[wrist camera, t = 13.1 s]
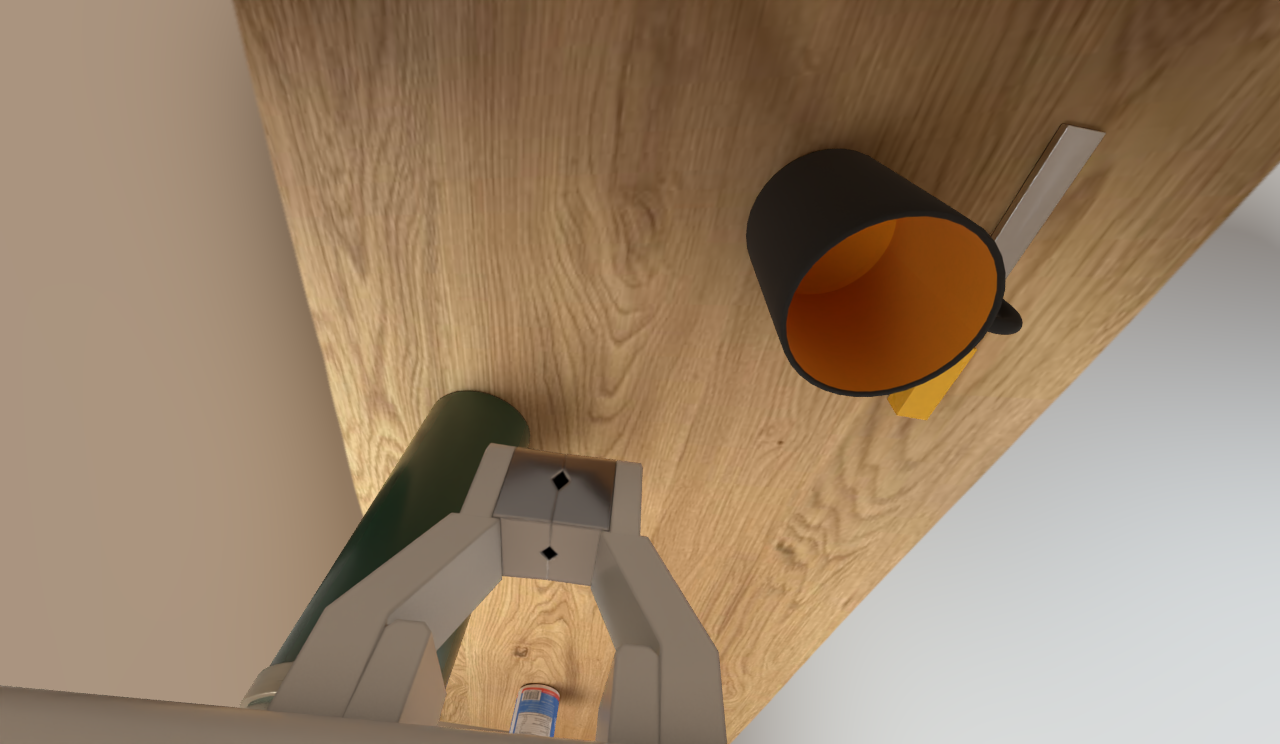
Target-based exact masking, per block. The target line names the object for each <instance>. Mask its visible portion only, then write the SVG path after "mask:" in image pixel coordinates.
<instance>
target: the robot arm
mask: <svg viewBox="0 0 1280 744" xmlns="http://www.w3.org/2000/svg"><path fill="white" fill-rule="evenodd" d="M642 472H643V467H642V465H641V463H635V462H627V461H619V460H617V461H616V460H614V459H605V458H597V457H589V456H581V455H572V454H560V453H554V452H548V451H541V450H535V449H529V448H522V447H514V446H508V445H501V444H495V443H490V445H489V446H488V447H487V448H486V450H485V453H484V455H483V457H482V460H481V462H480V465H479V467H478V470H477V472H476V475H475V477H474V479H473V482H472V484H471V487H470V489H469V492H468V494H467V496H466V499H465V501H464V504H463V506H462V509H461V511H460V513H450V514H449V515H448V516H446V517H445V518H444V519H442V520H441V521H440V522H438V523H437V524H436V525H434V526H433V527H432V528H430V529H429V530H428V531H426V532H425V533H424V534H422V535H421V536H420V537H418V538H417V539H416V540H414V541H413V542H412V543H410V544H409V545H408V546H406V547H405V548H404V549H403V550H401V551H400V552H399V553H397V554H396V555H395V556H393V557H392V558H391V559H389V560H388V561H387V562H385V563H384V564H383V565H381V566H380V567H379V568H377V569H376V570H375V571H373V572H372V573H371V574H369V575H368V576H367V577H365V578H364V579H363V580H361V581H360V582H359V583H357V584H356V585H355V586H354V587H352V588H351V589H350V590H348V591H347V592H346V593H344V594H343V595H342V596H340V597H339V598H338V599H336V600H335V601H334V602H332V603H331V604H330V605H328V606H327V607H326V608H325V609H324V611H323V613H322V614H321V616H320V618H319V619H318V621H317V623H316V625H315V626H314V628H313V630H312V632H311V633H310V635H309V637H308V639H307V640H306V642H305V644H304V646H303V647H302V649H301V651H300V652H299V654H298V656H297V658H296V659H295V661H294V663H293V665H292V666H291V668H290V670H289V672H288V673H287V675H286V677H285V679H284V680H283V682H282V684H281V685H280V687H279V689H278V691H277V692H276V694H275V696H274V698H273V699H272V701H271V703H270V705H269V706H268V708H267V710H257V709H247V708H235V707H225V706H214V705H204V704H192V703H181V702H172V701H161V700H150V699H139V698H129V697H117V696H107V695H97V694H86V693H74V692H65V691H53V690H43V689H32V688H22V687H11V686H0V744H727V738H726V727H725V716H724V705H723V695H722V684H721V673H720V662H719V652H718V650H717V648H716V647H715V645H714V643H713V642H712V640H711V639H710V637H709V635H708V634H707V632H706V630H705V629H704V627H703V626H702V624H701V622H700V621H699V619H698V617H697V616H696V614H695V613H694V611H693V609H692V608H691V606H690V604H689V603H688V601H687V600H686V598H685V596H684V595H683V593H682V592H681V590H680V588H679V587H678V585H677V583H676V582H675V580H674V579H673V577H672V575H671V574H670V572H669V570H668V569H667V567H666V566H665V564H664V562H663V561H662V559H661V557H660V556H659V554H658V553H657V551H656V549H655V548H654V546H653V544H652V543H651V541H650V540H649V538H648V537H645V536H640V525H641V499H642ZM502 576H509V577H520V578H531V579H543V580H547V579H548V580H551V581H558V582H565V583H572V584H579V585H586V586H591V590H592V593H593V595H594V598H595V600H596V603H597V605H598V608H599V610H600V612H601V615H602V617H603V620H604V622H605V625H606V627H607V630H608V632H609V634H610V637H611V639H612V642H613V644H614V647H615V649H616V652H615V655H614V658H613V662H612V665H611V669H610V672H609V675H608V679H607V682H606V685H605V689H604V692H603V696H602V699H601V702H600V706H599V711H598V721H597V731H596V741H589V740H578V739H568V738H557V737H546V736H536V735H525V734H514V733H503V732H493V731H482V730H470V729H461V728H450V727H439V726H437V724H438V720H439V717H440V714H441V711H442V707H443V704H444V701H445V697H446V690H445V686H444V681H443V677H442V673H441V669H440V665H439V661H438V657H437V652H436V651H437V650H438V649H439V648H440V647H441V645H442V644H443V643H444V642H445V641H446V640H447V639H448V638H449V637H450V636H451V634H452V633H453V632H454V631H455V630H456V629H457V628H458V627H459V626H460V625H461V624H462V622H463V621H464V620H465V619H466V618H467V617H468V616H469V615H470V614H471V613H472V611H473V610H474V609H475V608H476V607H477V606H478V605H479V604H480V603H481V602H482V601H483V599H484V598H485V597H486V596H487V595H488V594H489V593H490V592H491V591H492V590H493V588H494V587H495V586H496V585H497V584H498V583H499V582H500V581H501V580H502Z"/></svg>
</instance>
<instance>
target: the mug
mask: <svg viewBox="0 0 1280 744" xmlns="http://www.w3.org/2000/svg"><path fill="white" fill-rule="evenodd" d="M746 239H747V249H748V252H749V256H750V259H751V262H752V265H753V267H754V270H755V273H756V276H757V279H758V281H759V284H760V287H761V290H762V293H763V295H764V298H765V301H766V304H767V306H768V309H769V312H770V315H771V318H772V320H773V323H774V326H775V329H776V331H777V334H778V337H779V340H780V342H781V345H782V347H783V350H784V353H785V355H786V356H787V358H788V360H789V362H790V364H791V365H792V367H793V368H794V369H795V370H796V371H797V372H798V374H799V375H800V376H802V377H803V378H804V379H806V380H807V381H808V382H810V383H811V384H813V385H815V386H817V387H819V388H821V389H823V390H825V391H829V392H832V393H835V394H839V395H845V396H853V397H874V396H882V395H889V394H893V393H897V392H901V391H905V390H908V389H911V388H913V387H916V386H919V385H921V384H924V383H926V382H928V381H930V380H931V379H933V378H935V377H937V376H939V375H941V374H942V373H944V372H945V371H947V370H948V369H950V368H951V367H953V366H954V365H956V364H957V363H958V362H959V361H960V360H962V359H963V358H964V357H965V356H966V355H967V354H969V353H970V352H971V351H972V350H973V348H974V347H975V346H976V345H977V344H978V343H979V342H980V341H981V340H982V339H983V337H984V336H985V334H986V333H987V332H991V333H995V334H1001V335H1009V334H1014V333H1016V332H1018V331H1019V330H1020V329H1021V327H1022V323H1023V322H1022V318H1021V316H1020V314H1019V313H1018V312H1017V311H1016V310H1015V309H1014V308H1013V307H1012V306H1011V305H1010V304H1009V303H1007V302H1006V301H1005V300H1004V299H1003V296H1004V292H1005V278H1006V272H1005V267H1004V262H1003V257H1002V254H1001V252H1000V250H999V248H998V246H997V244H996V242H995V241H994V240H993V239H992V238H991V236H990V235H989V234H988V233H987V232H986V231H985V230H984V229H983V228H982V227H980V226H979V225H977V224H976V223H974V222H973V221H971V220H970V219H968V218H967V217H965V216H963V215H962V214H960V213H959V212H957V211H956V210H954V209H953V208H951V207H950V206H948V205H946V204H945V203H943V202H942V201H940V200H938V199H937V198H935V197H934V196H932V195H930V194H929V193H927V192H926V191H924V190H922V189H921V188H919V187H918V186H916V185H915V184H913V183H911V182H910V181H908V180H907V179H905V178H903V177H902V176H900V175H899V174H897V173H895V172H894V171H892V170H891V169H889V168H887V167H886V166H884V165H882V164H881V163H879V162H878V161H876V160H874V159H873V158H871V157H870V156H868V155H865V154H863V153H860V152H857V151H853V150H847V149H827V150H822V151H817V152H813V153H810V154H808V155H805V156H803V157H800V158H798V159H797V160H795V161H793V162H791V163H790V164H788V165H786V166H785V167H784V168H783V169H781V170H780V171H779V172H778V173H777V174H775V175H774V176H773V177H772V178H771V180H770V181H769V182H768V183H767V184H766V185H765V186H764V188H763V189H762V191H761V192H760V194H759V195H758V197H757V198H756V201H755V203H754V205H753V207H752V209H751V212H750V216H749V219H748V223H747V233H746Z"/></svg>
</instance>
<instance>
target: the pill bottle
mask: <svg viewBox="0 0 1280 744" xmlns="http://www.w3.org/2000/svg"><path fill="white" fill-rule="evenodd" d="M559 698H560V696H559V693H558V692H557V691H556V690H555V689H553V688H551V687H549V686H546V685H541V684H531V685H526V686H523V687H522V688H520V690H519V692H518V695H517V700H516V704H515V709H514V713H513V718H512V722H511V727H510V732H509V733H514V734H525V735H536V736H546V737H554V731H555V724H556V718H557V712H558V705H559Z"/></svg>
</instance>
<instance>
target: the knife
mask: <svg viewBox="0 0 1280 744" xmlns="http://www.w3.org/2000/svg"><path fill="white" fill-rule="evenodd" d="M1105 134H1106V133H1105V132H1101V131H1096V130H1091V129H1087V128H1082V127H1077V126H1072V125H1067V124H1062V125H1061V126H1060V128H1059V129H1058V131H1057V132H1056V134H1055V136H1054V137H1053V139H1052V140H1051V142H1050V144H1049V145H1048V147H1047V148H1046V150H1045V152H1044V153H1043V155H1042V156H1041V158H1040V159H1039V161H1038V163H1037V164H1036V166H1035V167H1034V169H1033V171H1032V172H1031V174H1030V175H1029V177H1028V179H1027V180H1026V182H1025V183H1024V185H1023V186H1022V188H1021V190H1020V191H1019V193H1018V194H1017V196H1016V198H1015V199H1014V201H1013V202H1012V204H1011V206H1010V207H1009V209H1008V210H1007V212H1006V213H1005V215H1004V217H1003V218H1002V220H1001V221H1000V223H999V225H998V226H997V228H996V229H995V231H994V232H993V234H992V236H991V238H992V239H993V240H994V241H995V242H996V244H997V246H998V248H999V250H1000V252H1001V254H1002V257H1003V262H1004V267H1005V272H1006V278H1007V277H1008V275H1009V274H1010V272H1011V271H1012V269H1013V268H1014V266H1015V265H1016V263H1017V262H1018V261H1019V259H1020V258H1021V256H1022V255H1023V253H1024V252H1025V250H1026V249H1027V247H1028V246H1029V245H1030V243H1031V242H1032V240H1033V239H1034V237H1035V236H1036V234H1037V233H1038V231H1039V230H1040V229H1041V227H1042V226H1043V224H1044V223H1045V221H1046V220H1047V218H1048V217H1049V215H1050V214H1051V213H1052V211H1053V210H1054V208H1055V207H1056V205H1057V204H1058V202H1059V201H1060V199H1061V198H1062V197H1063V195H1064V194H1065V192H1066V191H1067V189H1068V188H1069V186H1070V185H1071V184H1072V182H1073V181H1074V179H1075V178H1076V176H1077V175H1078V173H1079V172H1080V170H1081V169H1082V168H1083V166H1084V165H1085V163H1086V162H1087V160H1088V159H1089V157H1090V156H1091V154H1092V153H1093V152H1094V150H1095V149H1096V147H1097V146H1098V144H1099V143H1100V141H1101V140H1102V138H1103V137H1104V136H1105ZM1006 278H1005V279H1006ZM976 351H977V349H976V348H975V347H974V348H973V350H972V351H971V352H970V353H969V354H967V355H966V356H965V357H964V358H963V359H962V360H960V361H959V362H958V363H957V364H956V365H954V366H953V367H951V368H950V369H948V370H947V371H945V372H944V373H942V374H941V375H939V376H937V377H935V378H933V379H931V380H930V381H928V382H926V383H924V384H921V385H919V386H916V387H913V388H911V389H908V390H905V391H901V392H897V393H893V394H890V395H889V397H888V398H887V400H888V401H889V403H890V405H891V406H892V408H893V410H894V411H895V413H896V415H898V416H904V417H910V418H916V419H922V420H927V419H928V418H929V416H930V415H931V413H932V412H933V411H934V409H935V408H936V407H937V405H938V404H939V402H940V401H941V400H942V398H943V397H944V395H945V394H946V393H947V391H948V390H949V388H950V387H951V386H952V384H953V383H954V381H955V380H956V379H957V377H958V376H959V374H960V373H961V372H962V370H963V369H964V368H965V366H966V365H967V363H968V362H969V361H970V359H971V358H972V356H973V355H974V354H975V352H976Z"/></svg>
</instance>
